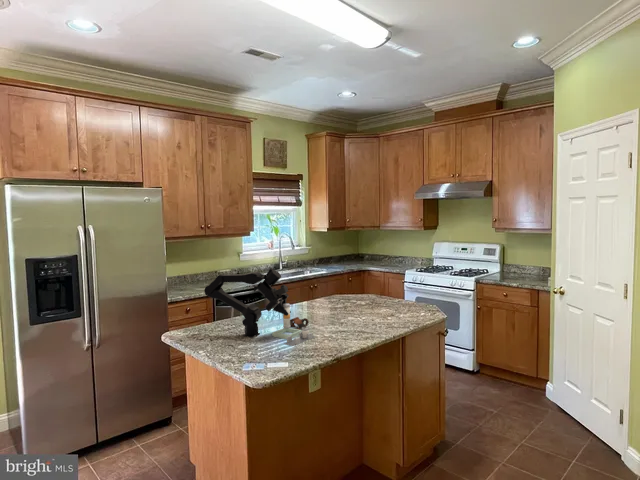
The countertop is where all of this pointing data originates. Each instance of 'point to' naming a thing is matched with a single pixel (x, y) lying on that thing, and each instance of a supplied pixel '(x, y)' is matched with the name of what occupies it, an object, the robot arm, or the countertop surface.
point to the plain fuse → (305, 332)
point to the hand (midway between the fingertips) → (289, 313)
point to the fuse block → (298, 339)
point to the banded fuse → (286, 316)
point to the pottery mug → (299, 322)
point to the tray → (278, 334)
